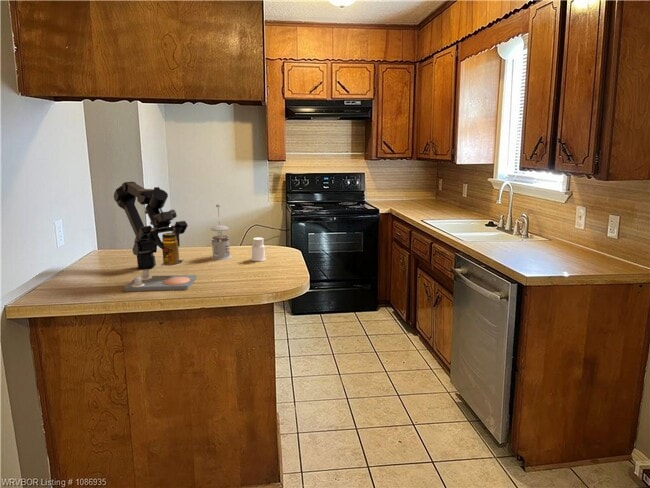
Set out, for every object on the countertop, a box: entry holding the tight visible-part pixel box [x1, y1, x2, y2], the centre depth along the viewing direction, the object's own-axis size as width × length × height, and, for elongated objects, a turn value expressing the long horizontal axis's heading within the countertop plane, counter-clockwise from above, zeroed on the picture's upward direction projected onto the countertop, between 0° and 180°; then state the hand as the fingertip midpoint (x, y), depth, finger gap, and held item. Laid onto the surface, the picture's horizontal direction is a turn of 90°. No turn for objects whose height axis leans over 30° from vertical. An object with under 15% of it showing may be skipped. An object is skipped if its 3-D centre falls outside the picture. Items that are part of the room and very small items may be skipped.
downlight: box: [248, 237, 268, 262], centre depth 216 cm, size 8×7×10 cm
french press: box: [210, 203, 233, 261], centre depth 221 cm, size 10×12×25 cm
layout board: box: [124, 269, 197, 292], centre depth 182 cm, size 23×14×5 cm, turn 93°
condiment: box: [160, 232, 185, 267], centre depth 188 cm, size 7×8×12 cm
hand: (171, 247), depth 186 cm, fingers closed on condiment, 6 cm apart
